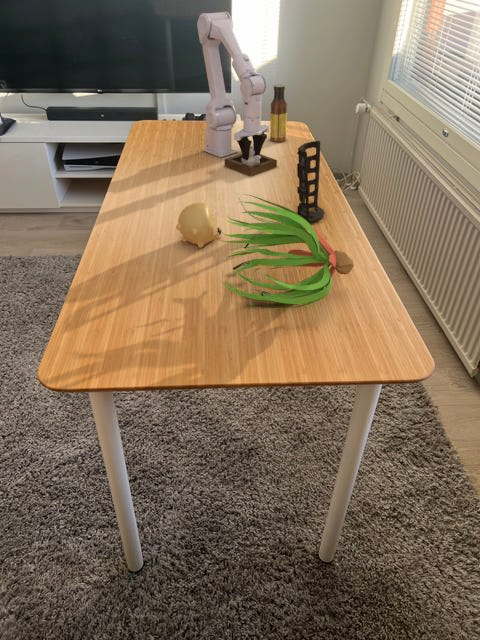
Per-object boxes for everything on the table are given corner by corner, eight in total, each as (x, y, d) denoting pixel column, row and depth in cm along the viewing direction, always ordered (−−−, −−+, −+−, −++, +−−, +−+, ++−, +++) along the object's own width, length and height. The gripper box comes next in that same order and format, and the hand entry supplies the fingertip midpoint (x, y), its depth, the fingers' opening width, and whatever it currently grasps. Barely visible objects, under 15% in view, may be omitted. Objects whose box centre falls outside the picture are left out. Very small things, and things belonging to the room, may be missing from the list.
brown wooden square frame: (224, 166, 177) (224, 158, 176) (250, 157, 184) (250, 150, 183) (250, 176, 170) (250, 169, 168) (276, 167, 177) (277, 160, 176)
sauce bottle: (286, 137, 203) (289, 83, 191) (285, 143, 198) (289, 87, 186) (269, 137, 203) (272, 83, 191) (268, 142, 198) (271, 87, 186)
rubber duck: (241, 163, 179) (241, 140, 174) (260, 163, 179) (261, 140, 174) (241, 169, 175) (241, 145, 170) (260, 169, 175) (261, 146, 170)
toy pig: (214, 259, 134) (234, 223, 135) (194, 240, 123) (215, 202, 124) (186, 246, 138) (205, 212, 139) (164, 227, 128) (184, 190, 128)
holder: (322, 225, 142) (323, 152, 130) (295, 224, 144) (293, 153, 132) (325, 208, 151) (326, 139, 139) (299, 208, 152) (298, 140, 141)
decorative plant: (357, 331, 113) (226, 351, 106) (315, 256, 129) (199, 269, 121) (396, 239, 94) (240, 255, 86) (342, 164, 110) (206, 172, 102)
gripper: (245, 123, 161) (244, 165, 169) (276, 114, 169) (274, 155, 177) (229, 118, 165) (229, 159, 173) (260, 109, 173) (259, 150, 181)
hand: (251, 157), depth 175 cm, fingers closed on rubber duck, 5 cm apart
